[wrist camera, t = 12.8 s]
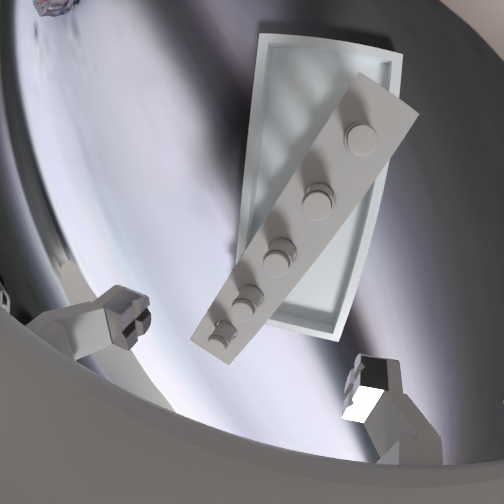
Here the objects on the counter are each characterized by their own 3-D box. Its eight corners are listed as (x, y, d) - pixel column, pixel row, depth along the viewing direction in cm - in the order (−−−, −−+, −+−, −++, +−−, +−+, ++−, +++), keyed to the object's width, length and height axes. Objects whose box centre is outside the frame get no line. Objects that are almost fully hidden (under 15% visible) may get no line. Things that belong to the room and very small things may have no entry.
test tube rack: (351, 92, 23) (360, 61, 12) (391, 119, 23) (431, 111, 12) (230, 282, 35) (177, 354, 24) (260, 302, 35) (220, 382, 24)
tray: (398, 59, 22) (402, 54, 20) (339, 329, 37) (338, 341, 34) (265, 39, 25) (259, 33, 23) (237, 304, 40) (230, 315, 37)
